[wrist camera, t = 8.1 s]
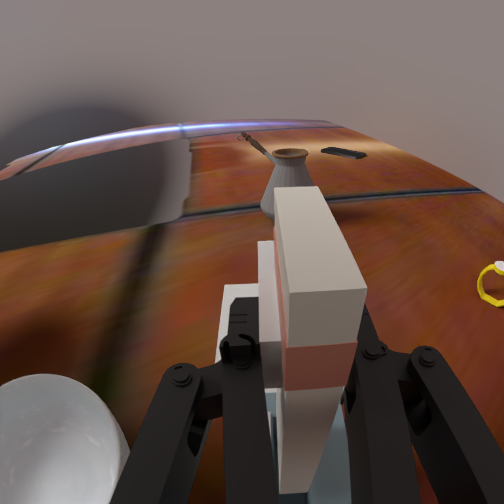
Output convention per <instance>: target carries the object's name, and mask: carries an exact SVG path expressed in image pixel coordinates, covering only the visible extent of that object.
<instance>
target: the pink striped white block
mask: <svg viewBox="0 0 504 504" xmlns="http://www.w3.org/2000/svg"><path fill="white" fill-rule="evenodd" d="M274 212H275V227H274V267H275V279H276V290H277V302H278V314H279V326H280V338H281V351H282V364H281V388H276V418H277V441H278V467H279V494H291V493H304V492H308V490H309V488H310V485H311V483H312V480H313V478H314V475H315V472H316V470H317V467H318V464H319V462H320V459H321V456H322V454H323V451H324V448H325V445H326V442H327V439H328V436H329V433H330V430H331V427H332V424H333V421H334V418H335V415H336V412H337V409H338V405H339V402H340V399H341V395H342V392H343V388H344V386H346V385H347V381H348V378H349V374H350V371H351V367H352V363H353V360H354V356H355V352H356V348H357V344H358V341H357V335H358V330H359V326H360V322H361V317H362V312H363V308H364V303H365V298H366V293H367V286H366V284H365V281H364V279H363V277H362V275H361V273H360V270H359V268H358V266H357V264H356V262H355V260H354V258H353V255H352V253H351V251H350V249H349V247H348V245H347V243H346V241H345V239H344V237H343V235H342V233H341V231H340V229H339V227H338V225H337V223H336V221H335V219H334V217H333V215H332V213H331V211H330V209H329V207H328V205H327V203H326V201H325V199H324V197H323V195H322V194H321V192H320V190H319V188H318V186H312V187H276V188H274Z"/></svg>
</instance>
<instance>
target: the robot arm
mask: <svg viewBox="0 0 504 504" xmlns="http://www.w3.org/2000/svg"><path fill="white" fill-rule="evenodd" d="M258 281H259V297H236V298H235V299H234V301H233V302H232V303H231V305H230V311H229V321H228V322H229V324H228V332H227V335H226V336H225V337H224V338H223V339H222V340H221V341H220V345H219V350H220V355H221V360H219V361H218V362H217V363H215V364H213V365H210V366H207V367H204V368H200V369H198V368H196V367H195V366H194V365H191V364H188V363H179V364H176V365H173V366H171V367H170V368H169V369H167V371H166V372H165V373H164V375H163V377H162V379H161V382H160V384H159V386H158V388H157V391H156V393H155V395H154V398H153V400H152V402H151V404H150V407H149V409H148V411H147V414H146V416H145V418H144V421H143V423H142V425H141V428H140V430H139V432H138V435H137V437H136V439H135V442H134V444H133V447H132V449H131V451H130V454H129V456H128V459H127V461H126V463H125V466H124V468H123V471H122V473H121V476H120V478H119V480H118V483H117V485H116V488H115V490H114V493H113V495H112V498H111V500H110V503H109V504H187V502H188V499H189V496H190V492H191V489H192V486H193V482H194V479H195V476H196V472H197V469H198V466H199V462H200V459H201V455H202V452H203V449H204V445H205V442H206V439H207V435H208V432H209V428H210V425H211V421H212V419H215V418H218V417H222V416H223V440H224V470H225V495H226V504H279V500H278V492H277V484H276V476H275V468H274V460H273V452H272V444H271V436H270V428H269V420H268V412H267V404H266V396H265V389H271V388H281V364H282V351H281V338H280V326H279V314H278V302H277V290H276V279H275V267H274V241H258ZM357 341H358V344H357V348H356V352H355V356H354V360H353V363H352V367H351V371H350V374H349V378H348V381H347V385H346V386H345V387H344V390H343V393H342V397H341V401H340V404H343V402H344V407H345V418H346V428H347V440H348V453H349V467H350V484H351V504H421V500H420V493H419V485H418V479H417V472H416V466H415V460H414V455H413V449H412V444H413V446H414V448H415V450H416V453H417V455H418V457H419V459H420V461H421V463H422V465H423V468H424V470H425V472H426V474H427V476H428V479H429V481H430V483H431V485H432V488H433V490H434V492H435V495H436V497H437V499H438V501H439V504H504V455H503V453H502V451H501V449H500V448H499V446H498V444H497V442H496V440H495V439H494V437H493V435H492V433H491V432H490V430H489V428H488V426H487V425H486V423H485V421H484V420H483V418H482V416H481V415H480V413H479V411H478V410H477V408H476V407H475V405H474V403H473V402H472V400H471V399H470V397H469V395H468V394H467V392H466V391H465V389H464V388H463V386H462V385H461V383H460V381H459V380H458V378H457V377H456V375H455V374H454V372H453V371H452V369H451V368H450V366H449V365H448V363H447V362H446V361H445V359H444V358H443V356H442V355H441V354H440V352H439V351H438V350H436V349H434V348H433V347H430V346H419V347H417V348H415V349H414V350H413V352H412V353H411V354H406V353H399V352H394V351H391V350H389V349H388V347H387V345H385V344H384V343H383V342H381V341H380V340H379V339H378V336H377V333H376V331H375V328H374V325H373V323H372V320H371V317H370V315H369V312H368V310H367V308H366V305H365V303H364V308H363V312H362V317H361V322H360V326H359V330H358V335H357ZM411 442H412V444H411Z"/></svg>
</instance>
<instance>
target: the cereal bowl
mask: <svg viewBox="0 0 504 504" xmlns="http://www.w3.org/2000/svg"><path fill="white" fill-rule="evenodd" d="M129 454H130V449H129V447H128V444H127V441H126V439H125V436H124V433H123V432H122V430H121V428H120V426H119V424H118V423H117V421H116V419H115V417H114V416H113V415H112V413H111V411H110V410H109V409H108V408H107V406H106V404H105V403H104V402H103V401H102V400H101V399H100V397H99V396H98V395H97V394H95V393H94V392H93V391H92V390H91V389H89V388H88V387H87V386H85V385H83V384H82V383H80V382H78V381H76V380H73V379H71V378H68V377H64V376H60V375H55V374H35V375H28V376H24V377H20V378H18V379H15V380H12V381H10V382H8V383H6V384H4V385H2V386H0V504H109V503H110V500H111V498H112V495H113V493H114V490H115V488H116V485H117V483H118V480H119V478H120V476H121V473H122V471H123V468H124V466H125V463H126V461H127V459H128V456H129Z"/></svg>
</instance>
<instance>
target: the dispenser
mask: <svg viewBox="0 0 504 504" xmlns="http://www.w3.org/2000/svg"><path fill="white" fill-rule="evenodd" d="M265 396H266V404H267V412H268V420H269V428H270V436H271V444H272V452H273V460H274V468H275V476H276V484H277V492H278V500H279V504H351V484H350V467H349V453H348V440H347V434H346V429H345V423H344V418H343V413H342V408H341V404H340V402H339V405H338V409H337V412H336V415H335V418H334V421H333V424H332V427H331V430H330V433H329V436H328V439H327V442H326V445H325V448H324V451H323V454H322V456H321V459H320V462H319V464H318V467H317V470H316V472H315V475H314V478H313V480H312V483H311V485H310V488H309V490H308V492H304V493H291V494H279V467H278V441H277V418H276V392H274V393H265Z"/></svg>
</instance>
